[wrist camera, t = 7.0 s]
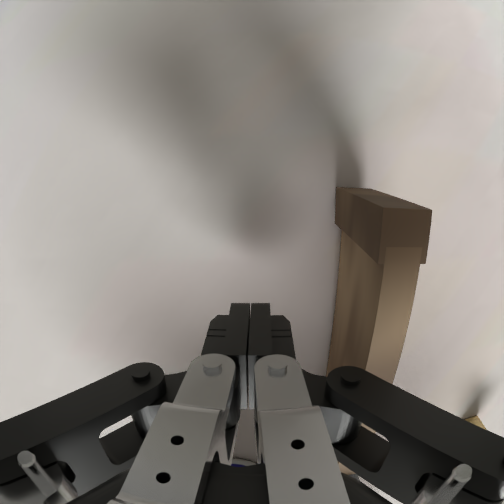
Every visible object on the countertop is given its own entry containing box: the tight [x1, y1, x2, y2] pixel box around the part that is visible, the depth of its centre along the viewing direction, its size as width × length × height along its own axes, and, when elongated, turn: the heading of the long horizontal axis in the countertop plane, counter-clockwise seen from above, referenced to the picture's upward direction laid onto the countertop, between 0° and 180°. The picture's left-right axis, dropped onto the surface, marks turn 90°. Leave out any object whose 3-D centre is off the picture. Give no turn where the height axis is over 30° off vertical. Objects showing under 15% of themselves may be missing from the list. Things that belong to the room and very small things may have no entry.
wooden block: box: [326, 187, 432, 475], centre depth 12 cm, size 12×2×6 cm, turn 1°
